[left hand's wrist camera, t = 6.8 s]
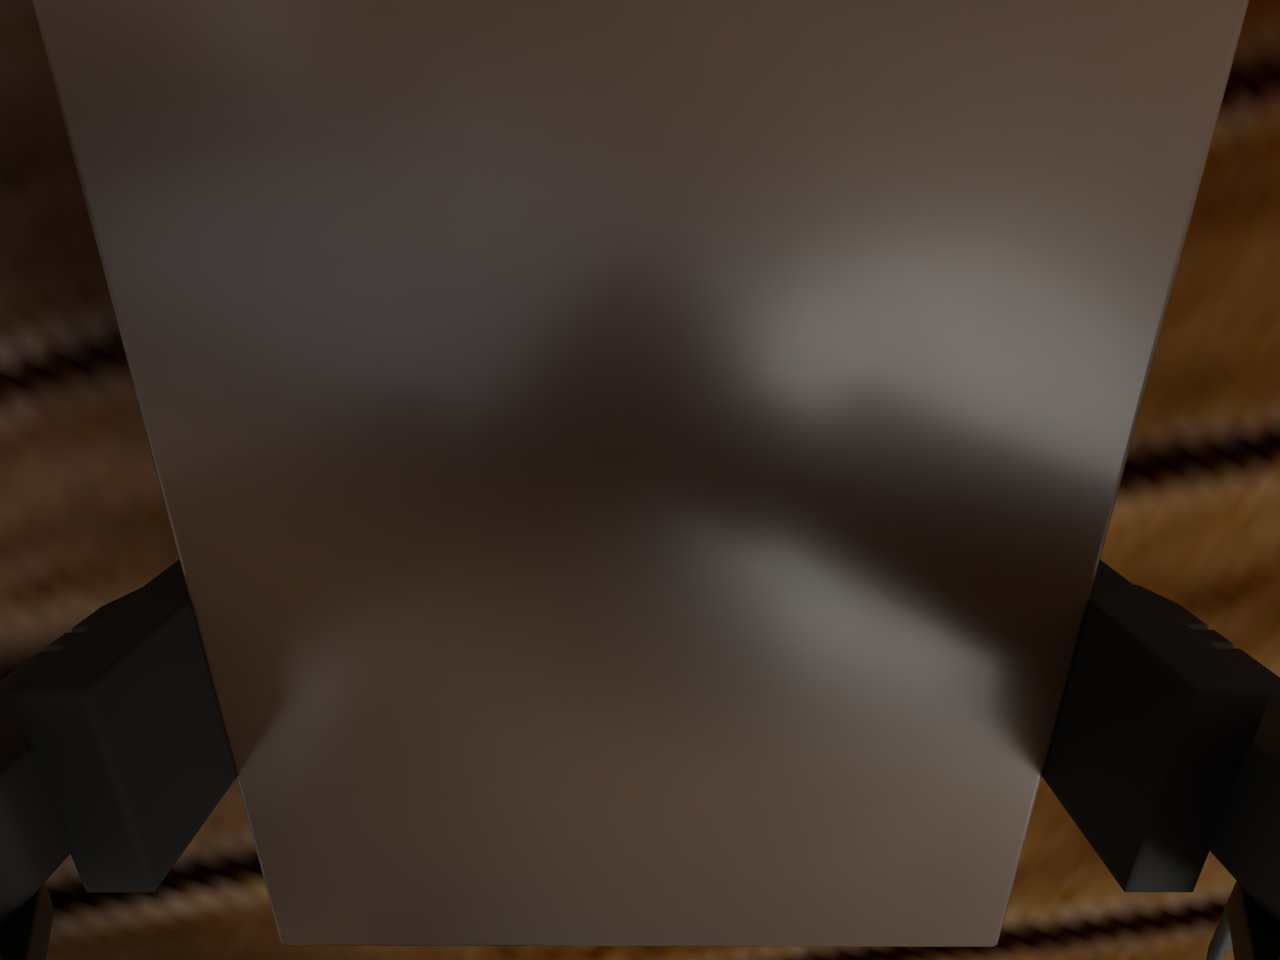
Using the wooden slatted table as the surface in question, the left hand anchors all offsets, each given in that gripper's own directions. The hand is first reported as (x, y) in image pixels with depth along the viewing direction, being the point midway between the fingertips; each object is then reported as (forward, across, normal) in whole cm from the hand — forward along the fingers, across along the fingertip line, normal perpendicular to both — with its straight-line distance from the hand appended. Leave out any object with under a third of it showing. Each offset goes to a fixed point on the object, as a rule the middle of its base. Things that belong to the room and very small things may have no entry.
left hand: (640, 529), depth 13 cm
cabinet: (+5, 0, -4) cm, 6 cm away
